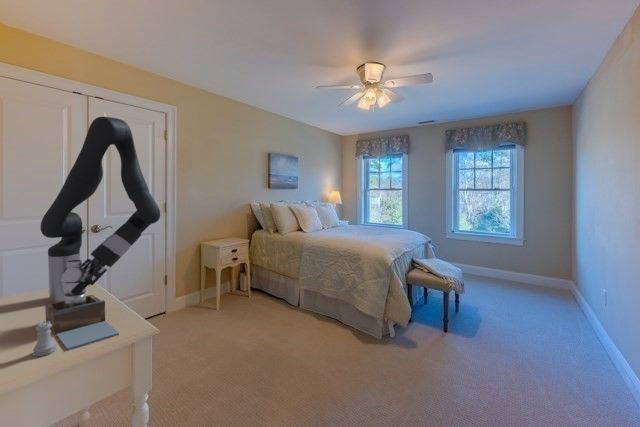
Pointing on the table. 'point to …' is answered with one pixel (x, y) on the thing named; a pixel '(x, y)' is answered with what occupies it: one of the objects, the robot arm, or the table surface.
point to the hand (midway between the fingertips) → (69, 290)
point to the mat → (86, 335)
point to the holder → (75, 314)
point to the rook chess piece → (44, 340)
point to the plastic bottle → (73, 284)
